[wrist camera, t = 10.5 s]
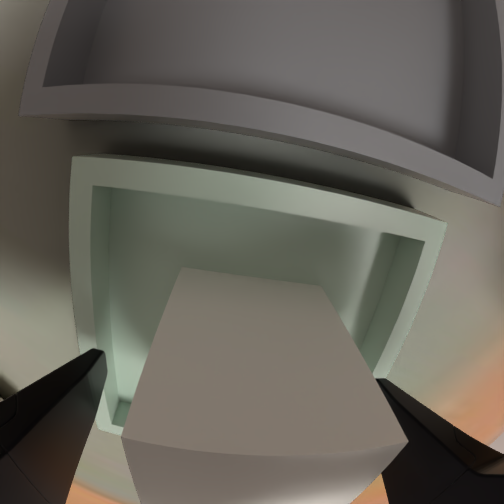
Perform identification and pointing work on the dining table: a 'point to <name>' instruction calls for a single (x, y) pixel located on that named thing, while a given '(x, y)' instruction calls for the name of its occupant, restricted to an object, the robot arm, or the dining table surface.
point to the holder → (232, 254)
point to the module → (255, 399)
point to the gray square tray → (292, 76)
